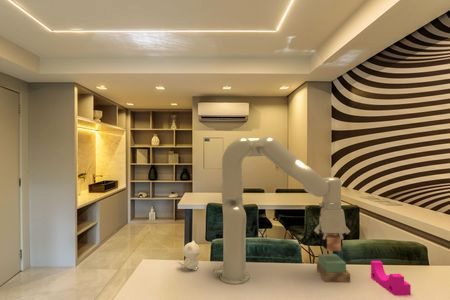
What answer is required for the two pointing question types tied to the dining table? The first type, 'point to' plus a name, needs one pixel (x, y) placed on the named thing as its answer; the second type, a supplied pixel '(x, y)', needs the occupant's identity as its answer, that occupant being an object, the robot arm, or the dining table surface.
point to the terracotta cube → (333, 242)
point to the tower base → (333, 275)
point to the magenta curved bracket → (389, 280)
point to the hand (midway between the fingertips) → (332, 247)
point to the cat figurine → (191, 255)
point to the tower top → (332, 263)
